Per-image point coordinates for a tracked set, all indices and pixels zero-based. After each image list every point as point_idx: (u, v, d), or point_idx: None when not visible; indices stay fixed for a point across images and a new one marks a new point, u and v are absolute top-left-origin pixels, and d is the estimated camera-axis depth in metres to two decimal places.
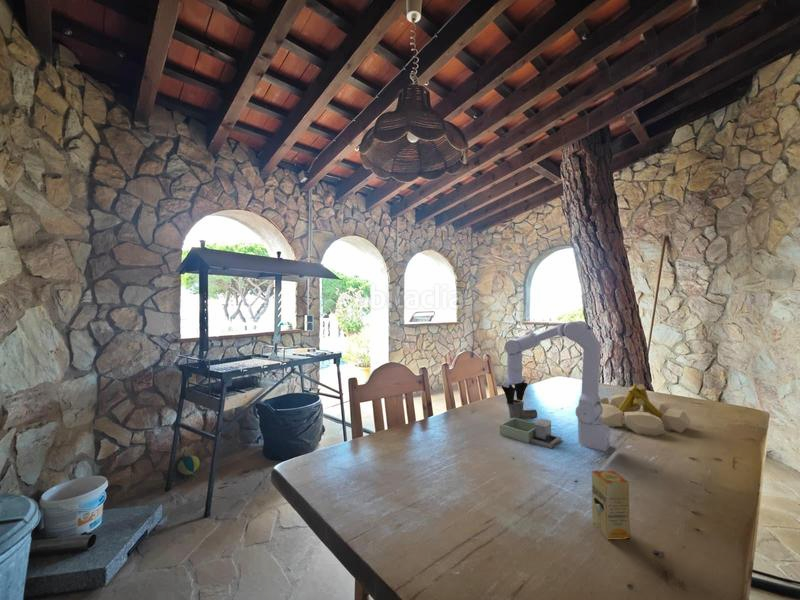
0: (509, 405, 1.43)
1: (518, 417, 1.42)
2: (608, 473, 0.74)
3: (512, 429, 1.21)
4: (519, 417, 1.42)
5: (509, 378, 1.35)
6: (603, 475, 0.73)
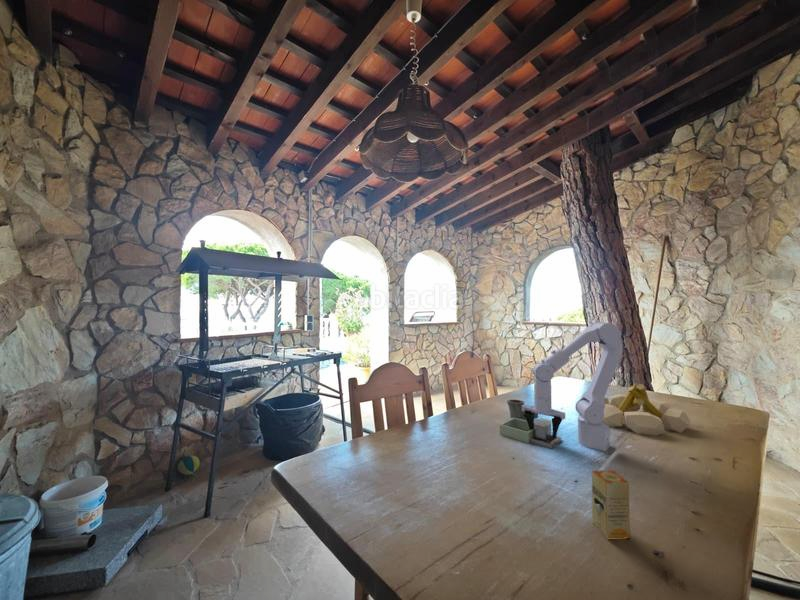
0: (510, 405, 1.43)
1: (519, 417, 1.42)
2: (608, 473, 0.74)
3: (512, 429, 1.21)
4: (520, 417, 1.42)
5: None
6: (603, 475, 0.73)
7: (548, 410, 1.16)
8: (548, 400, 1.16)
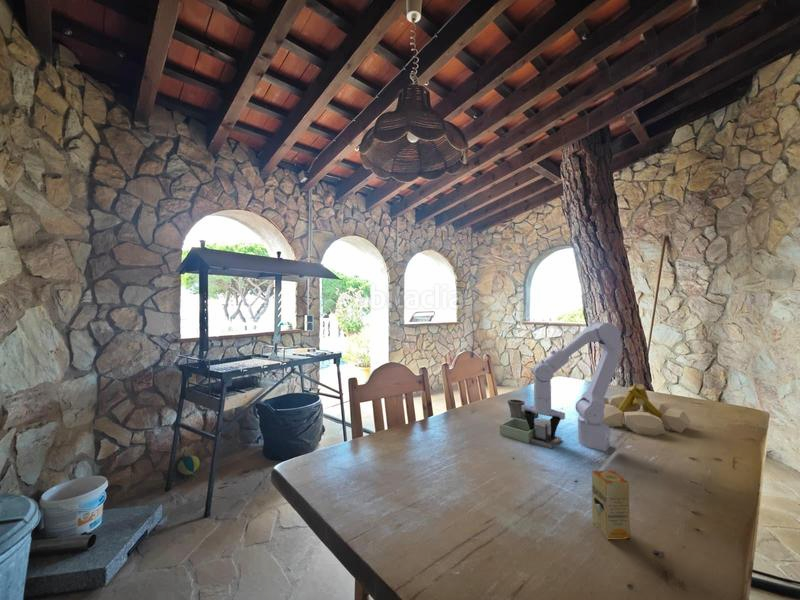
0: (510, 405, 1.44)
1: (519, 417, 1.42)
2: (608, 473, 0.74)
3: (512, 429, 1.21)
4: (520, 417, 1.42)
5: None
6: (603, 475, 0.73)
7: (548, 410, 1.16)
8: (548, 400, 1.16)
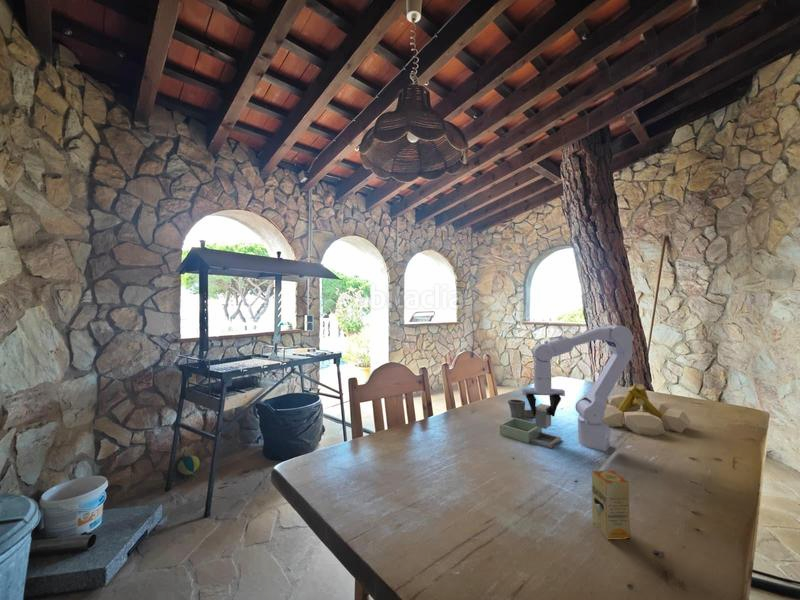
0: (511, 405, 1.43)
1: (520, 417, 1.42)
2: (608, 473, 0.74)
3: (512, 429, 1.21)
4: (521, 417, 1.42)
5: (534, 387, 1.20)
6: (603, 475, 0.73)
7: (551, 389, 1.17)
8: (550, 379, 1.17)
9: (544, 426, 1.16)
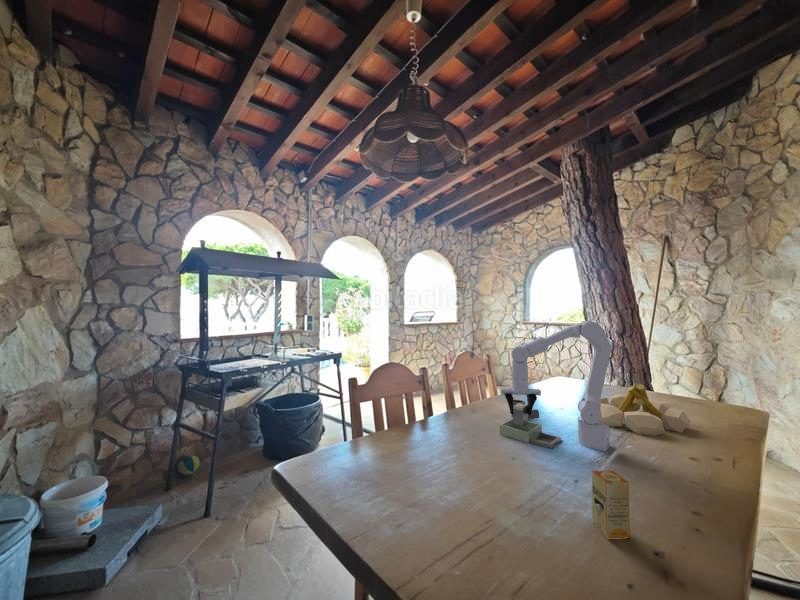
0: None
1: None
2: (608, 473, 0.74)
3: (512, 429, 1.21)
4: None
5: (512, 386, 1.26)
6: (603, 475, 0.73)
7: (527, 389, 1.23)
8: (527, 380, 1.23)
9: (521, 424, 1.21)
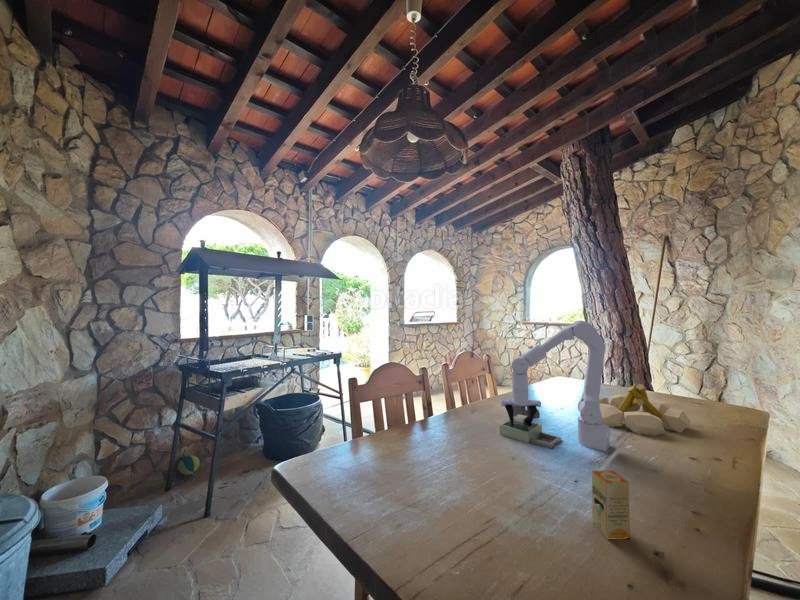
0: None
1: None
2: (608, 473, 0.74)
3: (512, 429, 1.21)
4: None
5: (512, 398, 1.26)
6: (603, 475, 0.73)
7: (528, 401, 1.23)
8: (527, 391, 1.23)
9: None
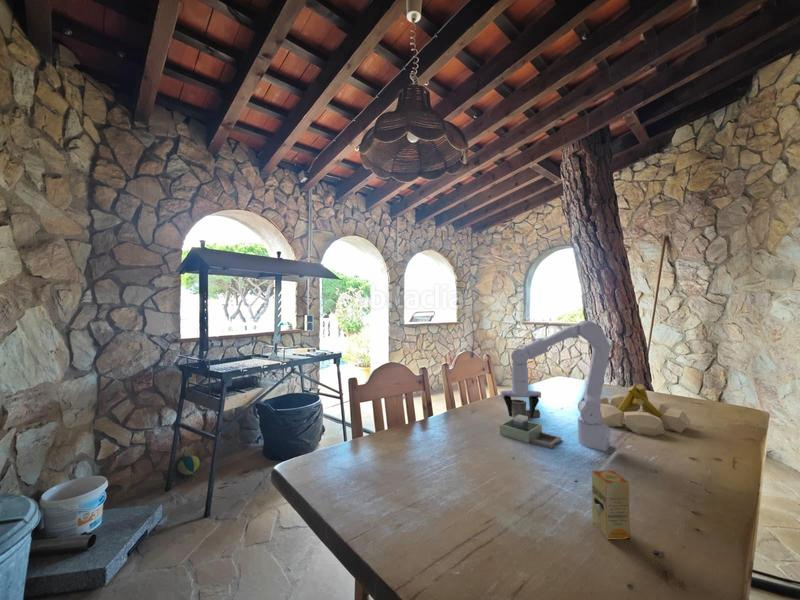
0: (512, 405, 1.44)
1: None
2: (608, 473, 0.74)
3: (512, 429, 1.21)
4: None
5: None
6: (603, 475, 0.73)
7: (527, 391, 1.23)
8: (527, 382, 1.23)
9: None
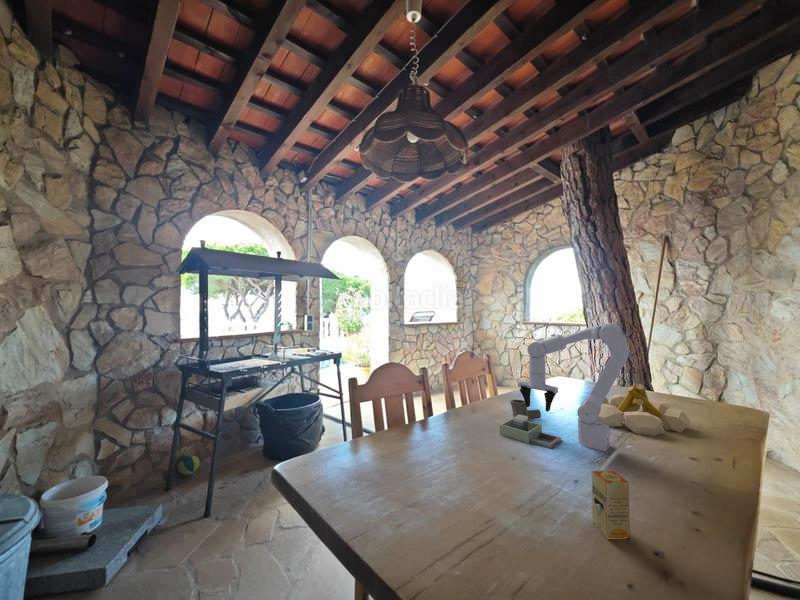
0: (512, 405, 1.43)
1: None
2: (608, 473, 0.74)
3: (512, 429, 1.21)
4: None
5: None
6: (603, 475, 0.73)
7: (541, 385, 1.23)
8: (541, 375, 1.24)
9: None
